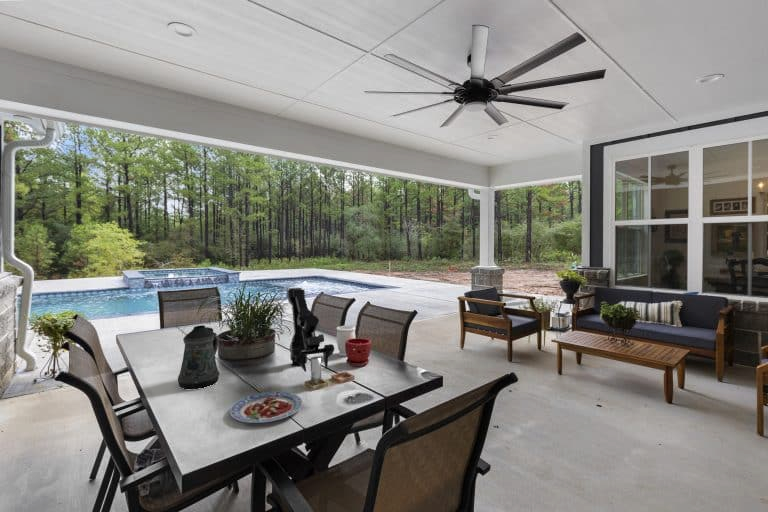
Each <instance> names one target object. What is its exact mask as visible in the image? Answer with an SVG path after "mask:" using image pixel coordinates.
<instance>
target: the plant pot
mask: <svg viewBox="0 0 768 512" xmlns="http://www.w3.org/2000/svg"><path fill="white" fill-rule="evenodd" d="M371 349H372V341H371V339H367V338H362V337H361V338H360V337H359V338H358V337H357V338H356V337H355V338H353V339H348V340H346V342H345V350H346V355H347V356H346V358H347V359H346V360H345V361H346V364H348V365H349V366H352V367H362V366H363V367H364V366H366V365H368V364H369V362H370V359H369V357H370V354H371Z"/></svg>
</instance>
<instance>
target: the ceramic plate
mask: <svg viewBox="0 0 768 512" xmlns="http://www.w3.org/2000/svg"><path fill="white" fill-rule="evenodd" d="M260 401H263V402H261V403H258V402H260ZM303 401H304V400H303V399H302V398H301V397H300V396H299V395H297V394H296V393H291V392H289V391H288V392H287V391H276V390H275V391H266V392H265V391H263V392H260V393H259V392H258V393H256V394H251V395H249V396H246V397H243V398H241V399H239V400H238V401H236V402H235V403H233V405H232V406H231V407H230V409H229V414H230V416H231V417H232V418H234V420H237V421H240V422H242V423H243V422H244V423H249V424H250V423H251V424H259V423H262V424H263V423H269V422H270V423H272V422H275V421H278V420H279V421H280V420H282V419H285V418H287V417H290V416H292V415H294V414H295V413H297V412H299V410H300V409H301V408H302V407H303V403H304V402H303ZM254 403H255V404H254Z"/></svg>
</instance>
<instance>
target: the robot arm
mask: <svg viewBox="0 0 768 512" xmlns="http://www.w3.org/2000/svg"><path fill="white" fill-rule="evenodd" d="M286 298H287V300H288V302H289V304H290V305H291V311H292V322H293V332H294V334H293V336H292V338H291V342H290V345H289V353H290V355H289V357H290V361H292V362H291V364H290V365H291V366H293V367H297V366H298V367H300V368H301V369H302V370H303V371H304V372H305V373H306V372H307V366H306V364H307V363H308V356H309V355H315V354H323V357H322V358H323V362H324V367H325V370H326V369H328V364H329V358H330V357H331V356H332V355H333V354H334V351H335V345H334V344H332V343H329V344H324V347H322V348H319V347H320V346H321V343H324V342H325V338H324V337H325V336H324V333H323V334H318V335H317V336H316V331H317V328H318V325H319V321H320V320H319V317H317V316H316V315H314V313H313V312H312V311H311V310H310V309H309V308H308V305H307V301H306V297H305V289H302V287H296V288H295V287H294V288H289V289H288V290H286Z"/></svg>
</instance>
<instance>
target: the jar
mask: <svg viewBox="0 0 768 512" xmlns="http://www.w3.org/2000/svg"><path fill="white" fill-rule="evenodd" d="M355 330H356V327H355V326H354V325H340V326H337V327H336V331H337V332H336V344H337V350H338V351H339V352H338V355H339V356H340V355H341V356H340V357H347V355H346V350H345V342H346V340H348V339H353V338H356V332H355Z"/></svg>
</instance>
